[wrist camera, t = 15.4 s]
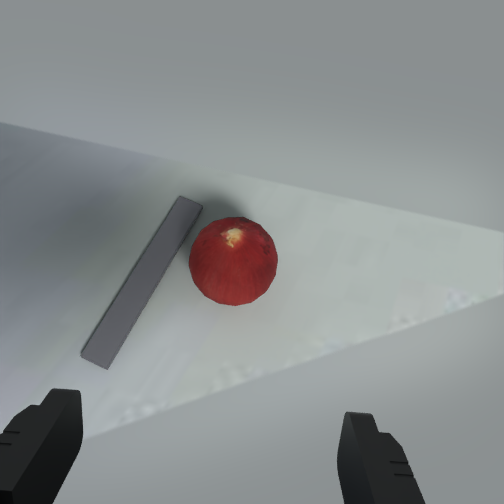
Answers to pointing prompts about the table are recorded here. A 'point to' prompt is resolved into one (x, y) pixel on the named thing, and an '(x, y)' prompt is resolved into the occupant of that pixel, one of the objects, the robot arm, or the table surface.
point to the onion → (233, 261)
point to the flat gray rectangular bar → (141, 284)
